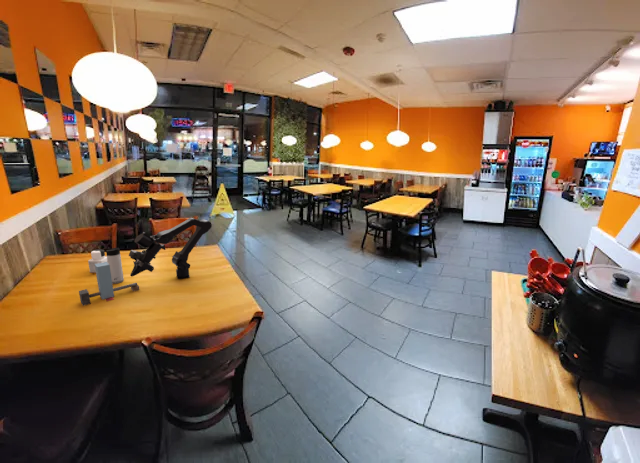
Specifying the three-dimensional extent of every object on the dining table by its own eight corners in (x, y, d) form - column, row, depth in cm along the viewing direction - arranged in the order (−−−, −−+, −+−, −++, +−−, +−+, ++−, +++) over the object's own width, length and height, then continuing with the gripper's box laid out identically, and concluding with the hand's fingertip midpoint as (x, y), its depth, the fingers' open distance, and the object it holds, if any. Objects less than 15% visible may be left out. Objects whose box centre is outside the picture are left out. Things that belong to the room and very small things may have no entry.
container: (98, 267, 182) (95, 248, 178) (111, 267, 183) (108, 248, 179) (89, 272, 174) (86, 252, 171) (103, 272, 175) (100, 252, 172)
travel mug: (117, 284, 161) (112, 250, 156) (107, 282, 163) (102, 249, 157) (127, 279, 167) (122, 247, 162) (117, 278, 169) (112, 246, 163)
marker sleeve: (111, 293, 151) (106, 261, 146) (114, 296, 148) (109, 264, 143) (99, 296, 147) (94, 264, 143) (102, 299, 144) (97, 267, 139)
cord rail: (135, 285, 161) (134, 275, 160) (141, 291, 155) (140, 281, 153) (79, 300, 143) (77, 289, 142) (84, 307, 137) (82, 296, 135)
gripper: (132, 240, 159) (111, 264, 154) (144, 248, 147) (122, 274, 142) (149, 250, 167) (130, 273, 162) (162, 259, 155) (142, 284, 150)
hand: (131, 276), depth 154 cm, fingers closed
